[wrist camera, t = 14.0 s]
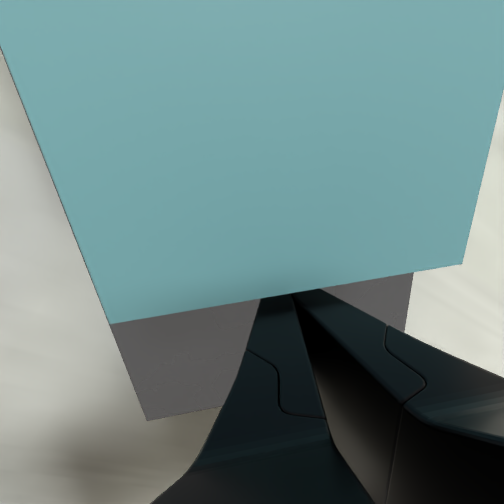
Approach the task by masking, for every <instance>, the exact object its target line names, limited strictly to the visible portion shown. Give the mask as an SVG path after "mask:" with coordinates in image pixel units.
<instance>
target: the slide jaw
mask: <svg viewBox="0 0 504 504" xmlns="http://www.w3.org/2000/svg"><path fill="white" fill-rule="evenodd" d="M0 46H1V48H2V51H3V54H4V56H5V59H6V61H7V64H8V66H9V69H10V71H11V74H12V76H13V79H14V82H15V84H16V87H17V89H18V92H19V94H20V97H21V99H22V102H23V105H24V107H25V110H26V112H27V115H28V117H29V120H30V122H31V125H32V127H33V130H34V133H35V135H36V138H37V140H38V143H39V145H40V148H41V150H42V153H43V155H44V158H45V161H46V163H47V166H48V168H49V171H50V173H51V176H52V178H53V181H54V183H55V186H56V189H57V191H58V194H59V196H60V199H61V201H62V204H63V206H64V209H65V212H66V214H67V217H68V219H69V222H70V224H71V227H72V229H73V232H74V234H75V237H76V240H77V242H78V245H79V247H80V250H81V252H82V255H83V257H84V260H85V262H86V265H87V268H88V270H89V273H90V275H91V278H92V280H93V283H94V285H95V288H96V290H97V293H98V296H99V298H100V301H101V303H102V306H103V308H104V311H105V313H106V316H107V318H108V321H109V324H114V323H120V322H126V321H132V320H138V319H143V318H149V317H155V316H161V315H167V314H173V313H178V312H184V311H190V310H196V309H202V308H208V307H213V306H219V305H225V304H231V303H237V302H243V301H248V300H254V299H260V298H266V297H272V296H277V295H283V294H289V293H295V292H301V291H307V290H312V289H318V288H324V287H330V286H336V285H342V284H347V283H353V282H359V281H365V280H371V279H377V278H382V277H388V276H394V275H400V274H406V273H412V272H417V271H423V270H429V269H435V268H441V267H447V266H452V265H458V264H462V262H463V258H464V253H465V249H466V245H467V241H468V237H469V232H470V228H471V224H472V220H473V216H474V211H475V207H476V203H477V199H478V194H479V190H480V186H481V182H482V178H483V173H484V169H485V165H486V161H487V157H488V152H489V148H490V144H491V140H492V136H493V131H494V127H495V123H496V119H497V115H498V110H499V106H500V102H501V98H502V93H503V89H504V0H0Z"/></svg>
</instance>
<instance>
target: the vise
mask: <svg viewBox="0 0 504 504" xmlns="http://www.w3.org/2000/svg"><path fill="white" fill-rule="evenodd" d="M0 49H1V51H2V48H1V46H0ZM2 54H3V51H2ZM3 56H4V54H3ZM4 59H5V56H4ZM5 61H6V59H5ZM6 64H7V61H6ZM7 66H8V64H7ZM8 69H9V66H8ZM9 71H10V69H9ZM10 74H11V71H10ZM11 76H12V74H11ZM12 79H13V76H12ZM13 82H14V79H13ZM14 84H15V82H14ZM15 87H16V84H15ZM16 89H17V87H16ZM17 92H18V89H17ZM18 94H19V92H18ZM19 97H20V94H19ZM20 99H21V97H20ZM21 102H22V99H21ZM22 104H23V102H22ZM23 107H24V105H23ZM24 109H25V107H24ZM25 112H26V110H25ZM26 115H27V112H26ZM27 117H28V115H27ZM28 120H29V117H28ZM29 122H30V120H29ZM30 125H31V122H30ZM31 127H32V125H31ZM32 130H33V127H32ZM33 132H34V130H33ZM34 135H35V133H34ZM35 137H36V135H35ZM36 140H37V138H36ZM37 143H38V140H37ZM38 145H39V143H38ZM39 148H40V145H39ZM40 150H41V148H40ZM41 153H42V150H41ZM42 155H43V153H42ZM43 158H44V155H43ZM44 160H45V158H44ZM45 163H46V161H45ZM46 165H47V163H46ZM47 168H48V166H47ZM48 170H49V168H48ZM49 173H50V171H49ZM50 176H51V173H50ZM51 178H52V176H51ZM52 181H53V178H52ZM53 183H54V181H53ZM54 186H55V183H54ZM55 188H56V186H55ZM56 191H57V189H56ZM57 193H58V191H57ZM58 196H59V194H58ZM59 198H60V196H59ZM60 201H61V199H60ZM61 203H62V201H61ZM62 206H63V204H62ZM63 209H64V206H63ZM64 211H65V209H64ZM65 214H66V212H65ZM66 216H67V214H66ZM67 219H68V217H67ZM68 221H69V219H68ZM69 224H70V222H69ZM70 226H71V224H70ZM71 229H72V227H71ZM72 231H73V229H72ZM73 234H74V232H73ZM74 236H75V234H74ZM75 239H76V237H75ZM76 242H77V240H76ZM77 244H78V242H77ZM78 247H79V245H78ZM79 249H80V247H79ZM80 252H81V250H80ZM81 254H82V252H81ZM82 257H83V255H82ZM83 259H84V257H83ZM84 262H85V260H84ZM85 264H86V262H85ZM86 267H87V265H86ZM87 269H88V268H87ZM88 272H89V270H88ZM413 274H414V272H412V273H406V274H400V275H394V276H388V277H382V278H377V279H371V280H365V281H359V282H353V283H347V284H342V285H336V286H330V287H324V288H320V289H322V290H324V291H326V292H328V293H330V294H331V295H333V296H335V297H337V298H339V299H341V300H343V301H345V302H347V303H349V304H350V305H352V306H354V307H356V308H358V309H360V310H362V311H364V312H366V313H367V314H369V315H371V316H373V317H375V318H377V319H379V320H381V321H383V322H384V323H386V324H387V326H388V325H390V326H392V327H394V328H396V329H398V330H400V331H402V332H404V330H405V324H406V318H407V311H408V305H409V299H410V293H411V286H412V280H413ZM89 275H90V273H89ZM90 277H91V275H90ZM91 280H92V278H91ZM92 282H93V280H92ZM93 285H94V283H93ZM94 287H95V285H94ZM95 290H96V288H95ZM96 292H97V290H96ZM97 295H98V293H97ZM98 297H99V296H98ZM260 299H261V298H260ZM260 299H254V300H248V301H243V302H237V303H231V304H225V305H219V306H213V307H208V308H202V309H196V310H190V311H184V312H178V313H173V314H167V315H161V316H155V317H149V318H143V319H138V320H132V321H126V322H120V323H114V324H109V325H110V328H111V330H112V333H113V335H114V338H115V341H116V343H117V346H118V348H119V351H120V353H121V356H122V358H123V361H124V363H125V366H126V368H127V371H128V374H129V376H130V379H131V381H132V384H133V386H134V389H135V391H136V394H137V396H138V399H139V401H140V404H141V407H142V409H143V412H144V414H145V417H146V419H147V421H149V420H154V419H159V418H164V417H169V416H174V415H179V414H184V413H189V412H194V411H199V410H204V409H209V408H214V407H219V406H223V404H224V402H225V400H226V398H227V396H228V394H229V392H230V390H231V387H232V385H233V383H234V381H235V378H236V376H237V373H238V370H239V367H240V364H241V361H242V358H243V355H244V352H245V349H246V345H247V342H248V339H249V335H250V332H251V329H252V325H253V322H254V319H255V316H256V312H257V309H258V306H259V302H260ZM99 300H100V298H99ZM100 302H101V301H100ZM101 305H102V303H101ZM102 308H103V306H102ZM103 310H104V308H103ZM104 313H105V311H104ZM105 315H106V313H105ZM106 318H107V316H106ZM107 320H108V318H107ZM108 323H109V321H108Z"/></svg>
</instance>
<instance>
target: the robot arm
mask: <svg viewBox="0 0 504 504" xmlns="http://www.w3.org/2000/svg"><path fill="white" fill-rule="evenodd" d="M150 504H504V378H503V377H501V376H498V375H496V374H494V373H492V372H489V371H487V370H485V369H482V368H480V367H478V366H475V365H473V364H471V363H469V362H466V361H464V360H462V359H459V358H457V357H455V356H452V355H450V354H448V353H446V352H443V351H441V350H439V349H437V348H435V347H432V346H430V345H428V344H426V343H424V342H422V341H420V340H418V339H416V338H414V337H412V336H410V335H408V334H406V333H404V332H402V331H400V330H398V329H396V328H394V327H392V326H390V325H388V326H387V324H386V323H384V322H383V321H381V320H379V319H377V318H375V317H373V316H371V315H369V314H367V313H366V312H364V311H362V310H360V309H358V308H356V307H354V306H352V305H350V304H349V303H347V302H345V301H343V300H341V299H339V298H337V297H335V296H333V295H331V294H330V293H328V292H326V291H324V290H322V289H320V288H318V289H312V290H307V291H301V292H295V293H289V294H283V295H277V296H272V297H266V298H261V299H260V302H259V306H258V309H257V312H256V316H255V319H254V322H253V325H252V329H251V332H250V335H249V339H248V342H247V345H246V349H245V352H244V355H243V358H242V361H241V364H240V367H239V370H238V373H237V376H236V378H235V381H234V383H233V385H232V387H231V390H230V392H229V394H228V396H227V398H226V400H225V402H224V404H223V406H222V409H221V411H220V413H219V415H218V417H217V419H216V421H215V423H214V425H213V427H212V429H211V431H210V433H209V435H208V437H207V439H206V441H205V443H204V445H203V447H202V449H201V451H200V453H199V455H198V456H197V458H196V460H195V461H194V463H193V464H192V465H191V467H190V468H189V469H188V471H187V472H186V473H185V474H184V475H183V476H182V477H181V478H180V479H179V480H178V481H176V482H175V483H174V484H173V485H172V486H170V487H169V488H168V489H167V490H166V491H164V492H163V493H162V494H161V495H160V496H158V497H157V498H156V499H155V500H154V501H152V502H151V503H150Z"/></svg>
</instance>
